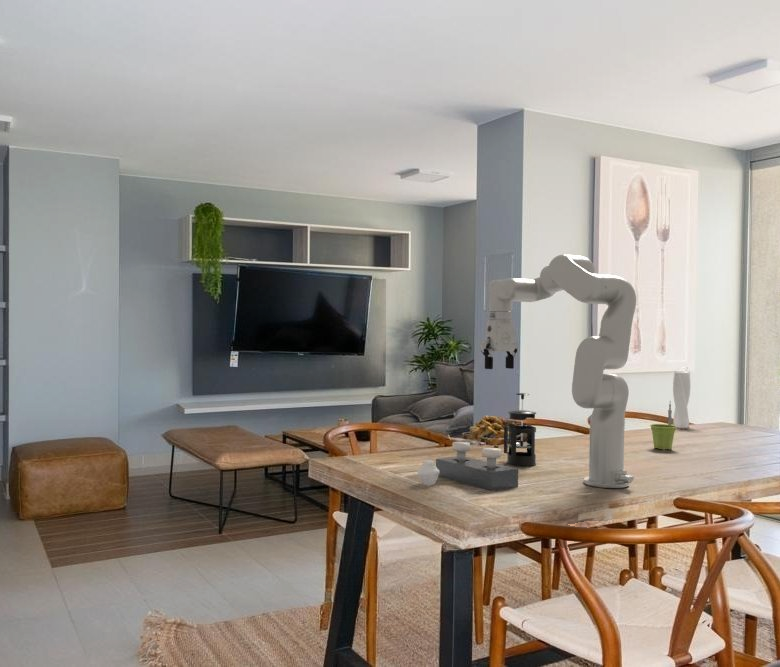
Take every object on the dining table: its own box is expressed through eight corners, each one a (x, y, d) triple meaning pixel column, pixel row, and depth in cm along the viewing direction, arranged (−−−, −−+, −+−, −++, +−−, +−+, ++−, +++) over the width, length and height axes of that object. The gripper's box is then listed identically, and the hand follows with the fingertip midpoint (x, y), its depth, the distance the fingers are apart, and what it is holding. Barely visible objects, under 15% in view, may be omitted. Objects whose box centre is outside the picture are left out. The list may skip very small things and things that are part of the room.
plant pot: (680, 451, 282) (680, 427, 282) (654, 450, 282) (654, 427, 282) (671, 447, 291) (671, 424, 291) (646, 446, 291) (646, 423, 291)
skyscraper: (676, 427, 351) (677, 366, 351) (693, 429, 345) (694, 366, 345) (666, 428, 346) (667, 366, 346) (683, 430, 340) (684, 367, 340)
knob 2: (504, 472, 214) (505, 449, 214) (490, 473, 211) (491, 451, 211) (491, 469, 219) (492, 447, 218) (478, 470, 216) (478, 448, 215)
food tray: (502, 435, 321) (502, 409, 321) (553, 443, 302) (554, 415, 302) (444, 443, 297) (445, 415, 297) (496, 451, 278) (497, 422, 278)
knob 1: (473, 464, 225) (474, 443, 225) (459, 466, 222) (460, 444, 222) (462, 462, 229) (462, 441, 229) (448, 463, 226) (448, 442, 226)
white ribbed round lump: (412, 484, 214) (413, 459, 214) (427, 481, 219) (428, 456, 219) (429, 487, 210) (429, 462, 210) (444, 484, 214) (444, 459, 214)
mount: (518, 486, 213) (518, 468, 213) (491, 490, 208) (491, 472, 208) (461, 472, 233) (461, 455, 233) (435, 475, 227) (435, 458, 227)
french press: (543, 464, 248) (544, 393, 248) (526, 468, 242) (528, 395, 241) (513, 460, 257) (514, 391, 256) (496, 463, 250) (497, 392, 250)
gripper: (489, 316, 248) (488, 369, 248) (526, 317, 258) (525, 368, 258) (473, 316, 254) (472, 368, 254) (510, 317, 264) (509, 367, 264)
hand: (499, 368), depth 256 cm, fingers open, 9 cm apart
